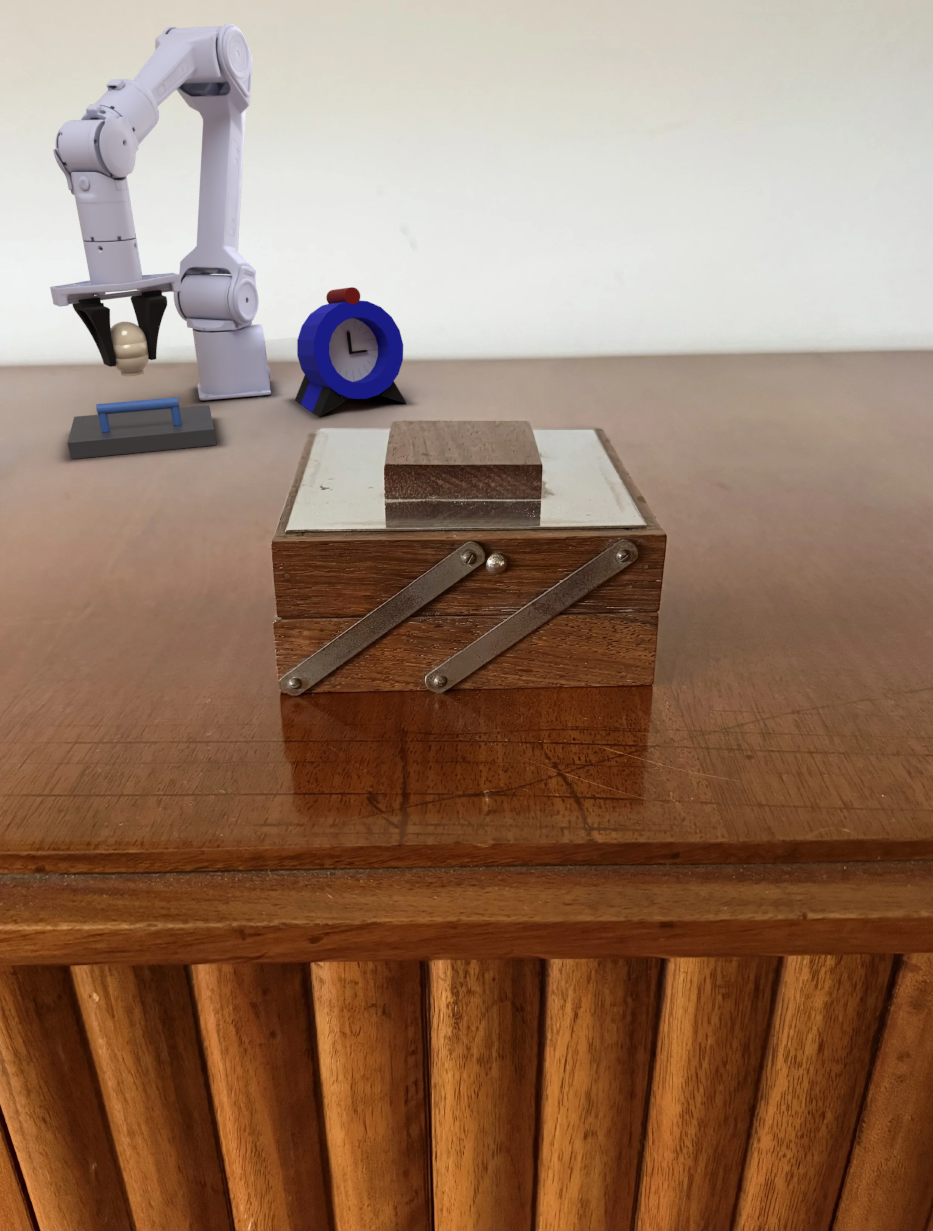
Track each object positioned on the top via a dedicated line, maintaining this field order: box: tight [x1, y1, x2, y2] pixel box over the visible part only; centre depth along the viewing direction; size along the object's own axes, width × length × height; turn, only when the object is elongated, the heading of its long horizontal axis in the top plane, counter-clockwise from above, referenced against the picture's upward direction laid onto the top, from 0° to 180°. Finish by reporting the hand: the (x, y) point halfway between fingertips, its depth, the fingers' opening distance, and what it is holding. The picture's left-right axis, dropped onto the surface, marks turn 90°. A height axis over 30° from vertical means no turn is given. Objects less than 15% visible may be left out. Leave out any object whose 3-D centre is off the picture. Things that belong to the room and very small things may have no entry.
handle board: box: [67, 396, 217, 460], centre depth 116 cm, size 16×11×5 cm
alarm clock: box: [294, 286, 408, 418], centre depth 128 cm, size 12×12×15 cm
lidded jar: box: [110, 321, 150, 377], centre depth 116 cm, size 4×4×6 cm
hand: (130, 361), depth 116 cm, fingers closed on lidded jar, 4 cm apart
